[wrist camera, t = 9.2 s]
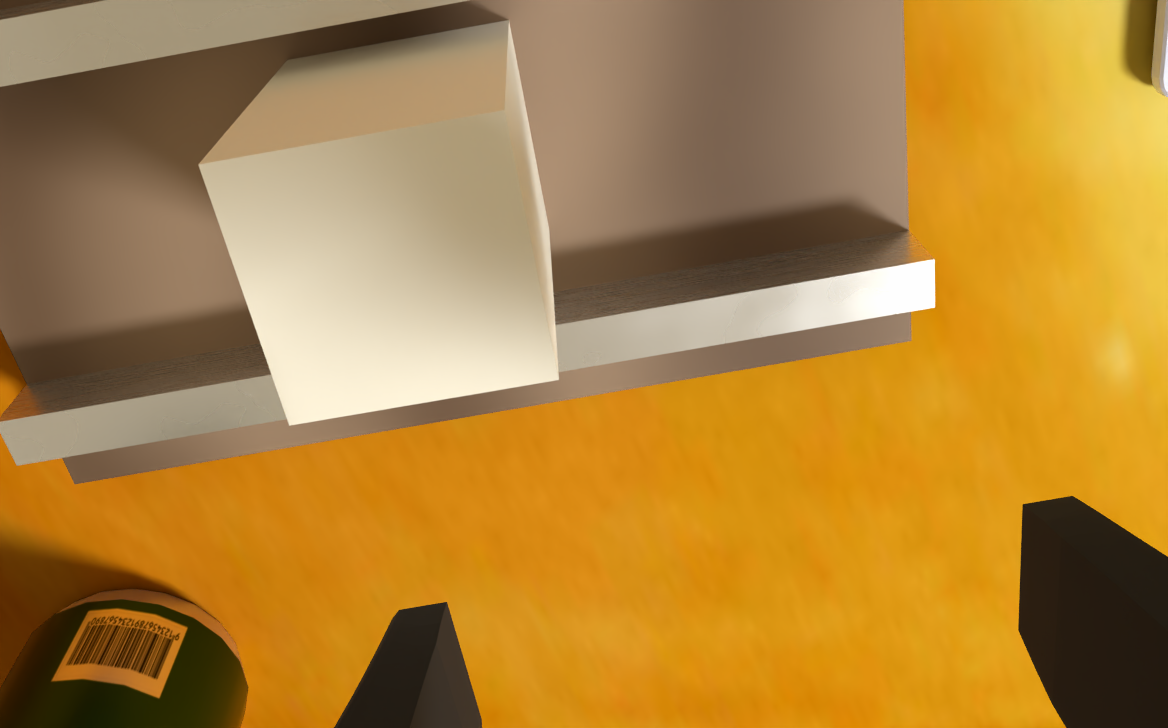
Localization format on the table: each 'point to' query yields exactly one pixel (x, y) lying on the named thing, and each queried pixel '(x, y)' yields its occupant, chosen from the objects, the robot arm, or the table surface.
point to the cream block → (390, 225)
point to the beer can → (126, 667)
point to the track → (568, 182)
